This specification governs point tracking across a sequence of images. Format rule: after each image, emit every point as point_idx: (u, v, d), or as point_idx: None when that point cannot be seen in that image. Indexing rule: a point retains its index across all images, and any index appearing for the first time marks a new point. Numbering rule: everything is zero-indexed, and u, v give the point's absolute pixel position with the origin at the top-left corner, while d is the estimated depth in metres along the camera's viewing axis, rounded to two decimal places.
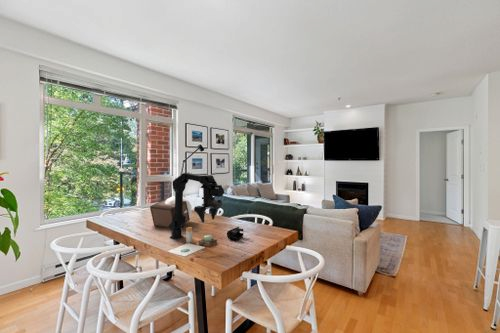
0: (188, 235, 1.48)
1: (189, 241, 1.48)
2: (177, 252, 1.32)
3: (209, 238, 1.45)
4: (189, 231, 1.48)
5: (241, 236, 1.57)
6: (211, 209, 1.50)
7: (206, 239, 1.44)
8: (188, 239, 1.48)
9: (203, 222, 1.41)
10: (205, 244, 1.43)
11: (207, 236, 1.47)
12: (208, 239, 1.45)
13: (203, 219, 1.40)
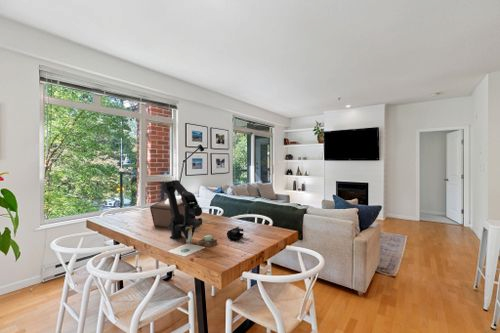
0: (188, 235, 1.48)
1: (189, 241, 1.48)
2: (177, 252, 1.32)
3: (209, 238, 1.45)
4: (189, 231, 1.48)
5: (241, 236, 1.57)
6: None
7: (206, 239, 1.44)
8: (188, 239, 1.48)
9: None
10: (205, 244, 1.43)
11: (207, 236, 1.47)
12: (208, 239, 1.45)
13: (187, 236, 1.47)
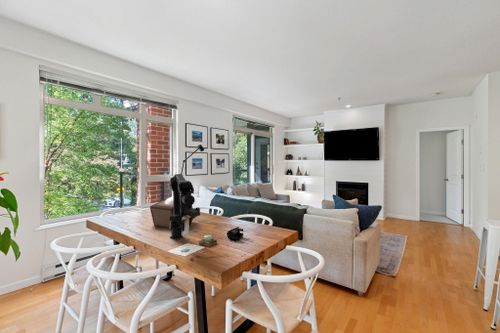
0: (185, 226, 1.34)
1: (186, 233, 1.34)
2: (177, 252, 1.32)
3: (209, 238, 1.45)
4: (186, 222, 1.34)
5: (241, 236, 1.57)
6: None
7: (206, 239, 1.44)
8: (185, 231, 1.34)
9: None
10: (205, 244, 1.43)
11: (207, 236, 1.47)
12: (208, 239, 1.45)
13: (183, 228, 1.33)
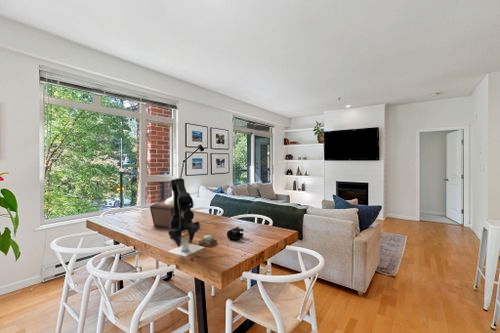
0: (184, 242, 1.33)
1: (185, 249, 1.33)
2: (177, 252, 1.32)
3: (209, 238, 1.45)
4: (185, 238, 1.33)
5: (241, 236, 1.57)
6: (189, 231, 1.40)
7: (206, 239, 1.44)
8: (184, 247, 1.33)
9: None
10: (205, 244, 1.43)
11: (207, 236, 1.47)
12: (208, 239, 1.45)
13: (179, 243, 1.30)
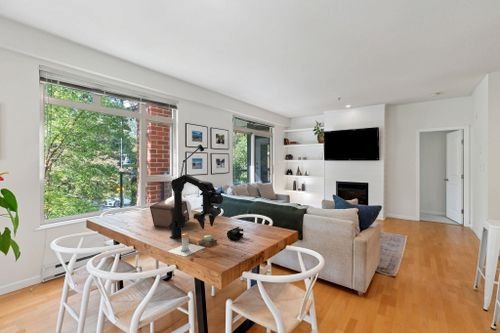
0: (184, 242, 1.33)
1: (185, 249, 1.33)
2: (177, 252, 1.32)
3: (209, 238, 1.45)
4: (185, 238, 1.33)
5: (241, 236, 1.57)
6: (209, 216, 1.51)
7: (206, 239, 1.44)
8: (184, 247, 1.33)
9: (203, 229, 1.43)
10: (205, 244, 1.43)
11: (207, 236, 1.47)
12: (208, 239, 1.45)
13: (203, 226, 1.42)
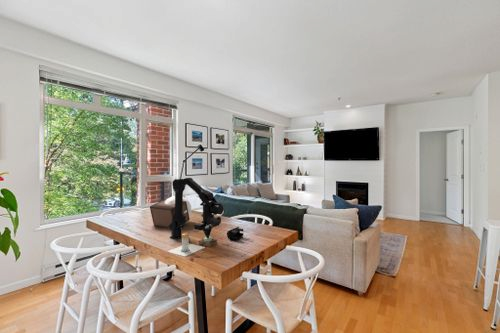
0: (184, 242, 1.33)
1: (185, 249, 1.33)
2: (177, 252, 1.32)
3: (209, 240, 1.45)
4: (185, 238, 1.33)
5: (241, 236, 1.57)
6: None
7: (206, 241, 1.44)
8: (184, 247, 1.33)
9: (207, 237, 1.46)
10: (205, 244, 1.43)
11: (207, 238, 1.47)
12: (208, 241, 1.45)
13: (207, 235, 1.46)
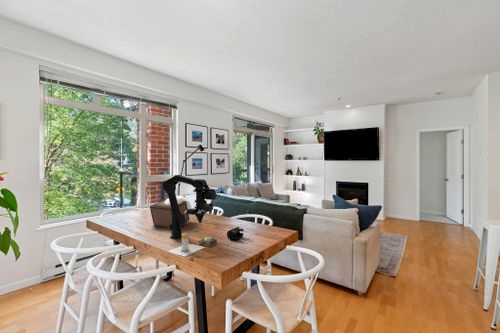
0: (184, 242, 1.33)
1: (185, 249, 1.33)
2: (177, 252, 1.32)
3: (209, 240, 1.45)
4: (185, 238, 1.33)
5: (241, 236, 1.57)
6: None
7: (206, 241, 1.44)
8: (184, 247, 1.33)
9: (200, 222, 1.52)
10: (205, 244, 1.43)
11: (207, 238, 1.47)
12: (208, 241, 1.45)
13: (200, 220, 1.52)
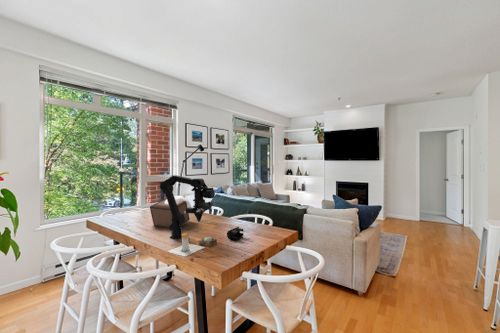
0: (184, 242, 1.33)
1: (185, 249, 1.33)
2: (177, 252, 1.32)
3: (209, 240, 1.45)
4: (185, 238, 1.33)
5: (241, 236, 1.57)
6: None
7: (206, 241, 1.44)
8: (184, 247, 1.33)
9: (199, 221, 1.54)
10: (205, 244, 1.43)
11: (207, 238, 1.47)
12: (208, 241, 1.45)
13: (199, 218, 1.53)
